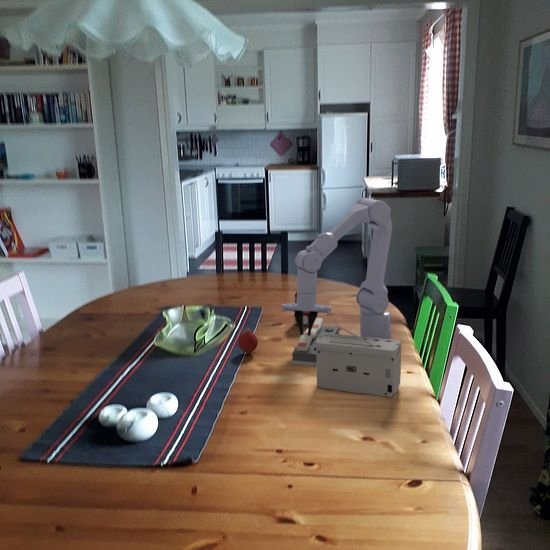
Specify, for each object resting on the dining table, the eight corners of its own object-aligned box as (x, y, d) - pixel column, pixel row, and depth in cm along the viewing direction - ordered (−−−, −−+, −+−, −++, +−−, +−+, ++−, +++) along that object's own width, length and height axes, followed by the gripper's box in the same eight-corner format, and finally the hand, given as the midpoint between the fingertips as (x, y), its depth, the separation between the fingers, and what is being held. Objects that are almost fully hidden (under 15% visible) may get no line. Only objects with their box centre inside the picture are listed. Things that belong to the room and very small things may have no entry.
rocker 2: (323, 321, 179) (323, 318, 179) (319, 332, 174) (319, 328, 174) (313, 320, 180) (313, 317, 180) (309, 331, 175) (309, 327, 175)
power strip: (339, 333, 181) (339, 322, 181) (322, 367, 156) (321, 355, 155) (312, 331, 184) (312, 321, 183) (291, 364, 159) (290, 352, 158)
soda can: (307, 328, 188) (307, 293, 185) (291, 324, 192) (290, 290, 189) (318, 322, 193) (318, 289, 190) (302, 318, 197) (301, 286, 194)
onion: (235, 355, 166) (234, 330, 164) (245, 349, 171) (244, 324, 169) (252, 359, 164) (251, 333, 162) (261, 352, 169) (260, 327, 166)
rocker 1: (311, 339, 165) (311, 335, 164) (307, 351, 160) (306, 347, 159) (301, 338, 165) (301, 334, 165) (296, 350, 161) (296, 346, 160)
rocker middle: (317, 332, 172) (317, 328, 172) (313, 338, 166) (313, 334, 166) (307, 331, 173) (307, 328, 173) (303, 338, 167) (302, 333, 167)
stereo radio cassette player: (400, 386, 144) (402, 312, 139) (396, 401, 136) (398, 323, 131) (322, 376, 151) (321, 306, 146) (313, 390, 143) (312, 316, 138)
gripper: (331, 289, 167) (330, 332, 170) (283, 286, 169) (283, 329, 172) (331, 295, 160) (329, 339, 163) (281, 292, 162) (280, 337, 165)
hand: (305, 335), depth 167 cm, fingers closed, pressing on rocker middle
